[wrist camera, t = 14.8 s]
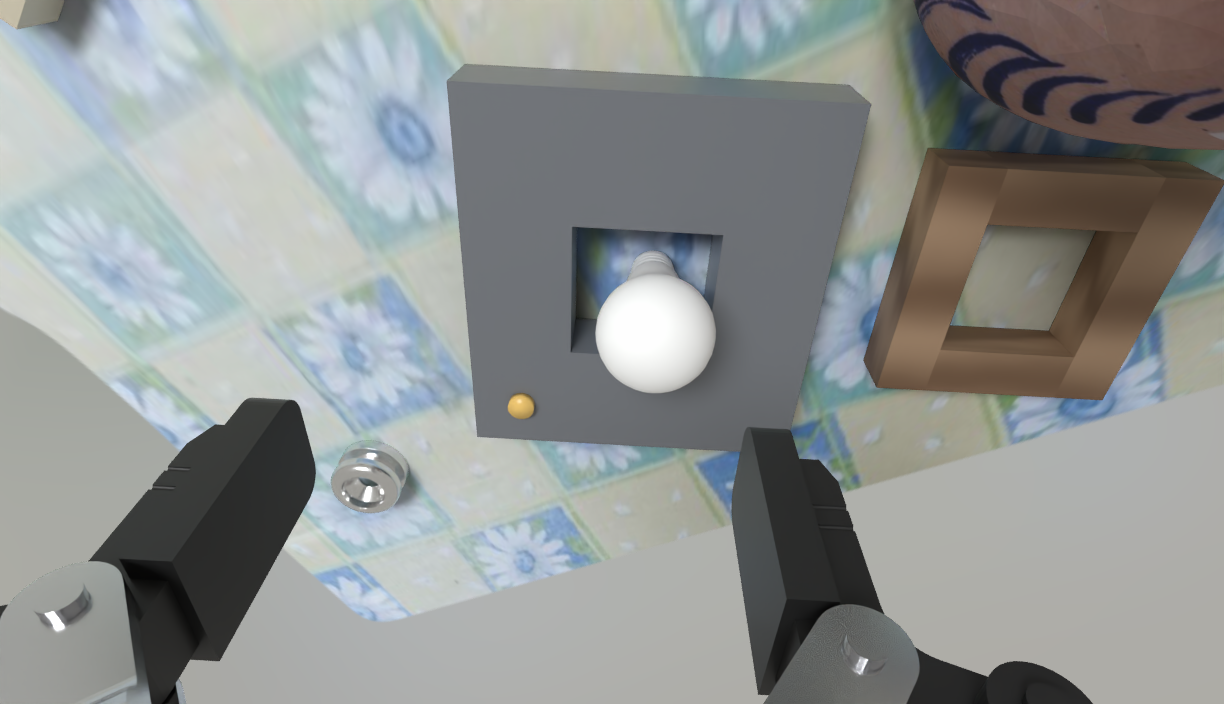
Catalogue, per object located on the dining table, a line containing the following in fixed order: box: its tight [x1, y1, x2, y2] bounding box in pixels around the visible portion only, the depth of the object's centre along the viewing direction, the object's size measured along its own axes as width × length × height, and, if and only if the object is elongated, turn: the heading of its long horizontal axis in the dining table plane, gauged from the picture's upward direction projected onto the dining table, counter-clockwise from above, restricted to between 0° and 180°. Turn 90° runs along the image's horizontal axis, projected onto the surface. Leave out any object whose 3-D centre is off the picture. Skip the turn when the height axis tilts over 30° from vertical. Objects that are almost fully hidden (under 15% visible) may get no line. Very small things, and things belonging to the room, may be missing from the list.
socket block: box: [447, 64, 871, 452], centre depth 39 cm, size 22×20×5 cm
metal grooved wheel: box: [331, 440, 409, 513], centre depth 50 cm, size 5×3×5 cm
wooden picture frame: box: [863, 148, 1224, 400], centre depth 39 cm, size 14×14×3 cm
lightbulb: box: [595, 251, 716, 393], centre depth 37 cm, size 6×6×11 cm
